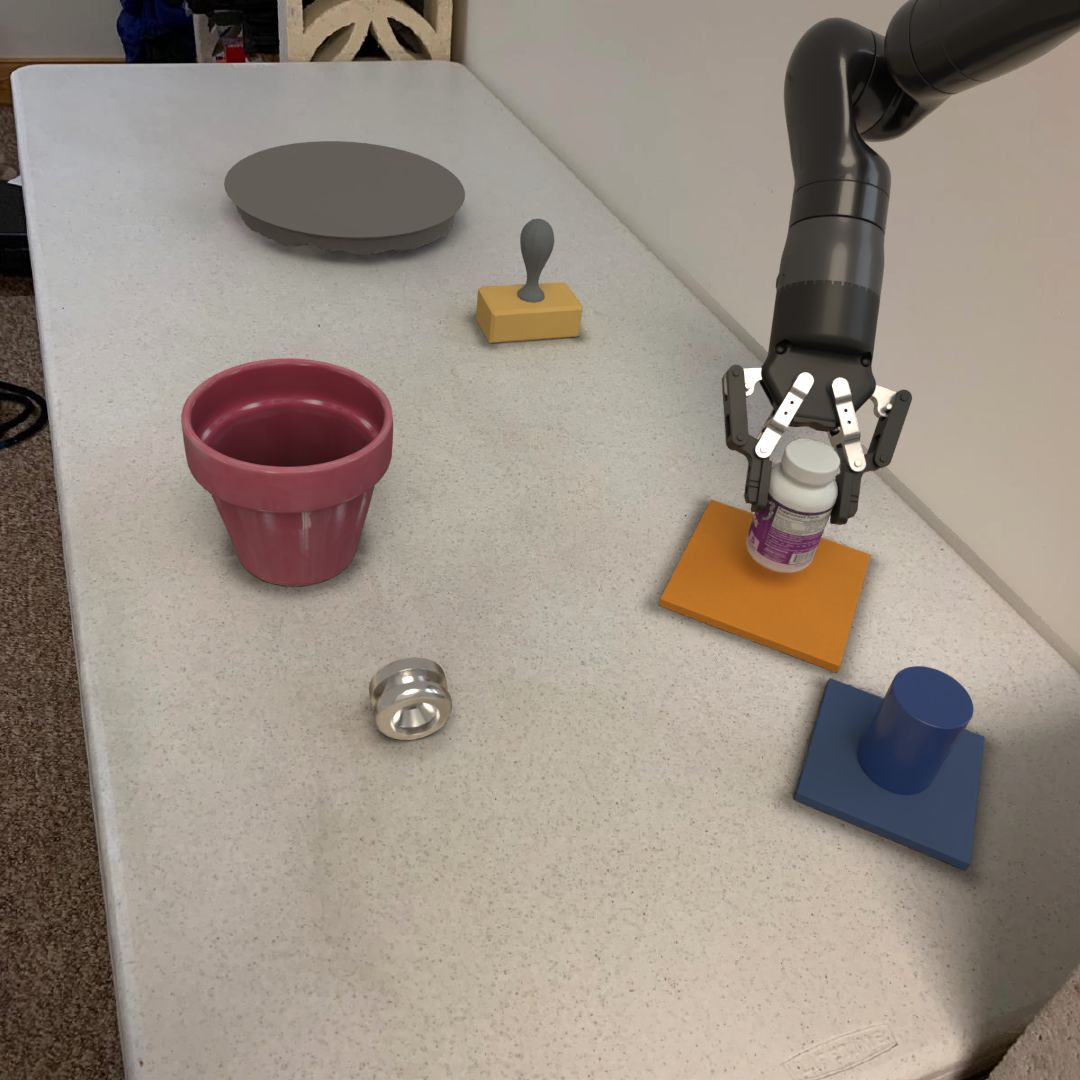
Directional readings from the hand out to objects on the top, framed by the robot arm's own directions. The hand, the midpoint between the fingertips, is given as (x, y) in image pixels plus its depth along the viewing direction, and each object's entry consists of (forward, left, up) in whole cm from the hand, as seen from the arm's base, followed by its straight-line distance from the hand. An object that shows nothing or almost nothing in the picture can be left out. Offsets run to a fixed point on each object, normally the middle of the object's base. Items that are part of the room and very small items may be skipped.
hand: (798, 516), depth 73 cm
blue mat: (-11, +12, -8) cm, 19 cm away
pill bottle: (+1, -2, -5) cm, 6 cm away
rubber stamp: (+34, -28, -8) cm, 44 cm away
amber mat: (+1, -2, -8) cm, 8 cm away
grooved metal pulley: (+19, +24, -8) cm, 32 cm away
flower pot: (+35, +13, -8) cm, 38 cm away
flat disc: (+63, -39, -8) cm, 74 cm away
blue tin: (-11, +12, -7) cm, 19 cm away
